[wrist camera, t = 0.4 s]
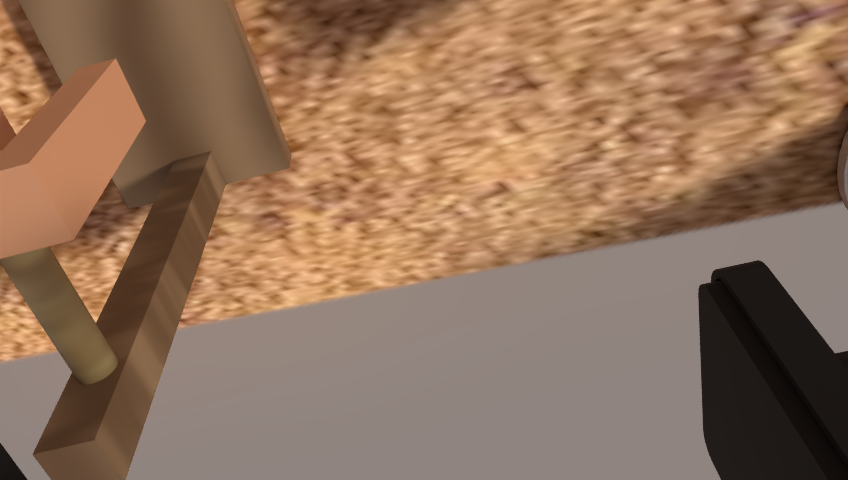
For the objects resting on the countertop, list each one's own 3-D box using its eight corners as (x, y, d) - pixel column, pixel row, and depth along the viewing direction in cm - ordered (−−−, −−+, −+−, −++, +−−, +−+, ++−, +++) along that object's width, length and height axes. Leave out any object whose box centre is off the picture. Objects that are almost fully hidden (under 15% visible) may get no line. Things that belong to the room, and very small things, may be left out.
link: (115, 58, 27) (28, 163, 20) (146, 121, 28) (73, 240, 21) (-47, 102, 27) (-184, 219, 21) (-10, 162, 29) (-128, 291, 22)
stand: (200, -83, 36) (22, 90, 18) (291, 155, 43) (229, 460, 24) (18, -31, 37) (-330, 186, 19) (135, 195, 43) (-38, 520, 25)
